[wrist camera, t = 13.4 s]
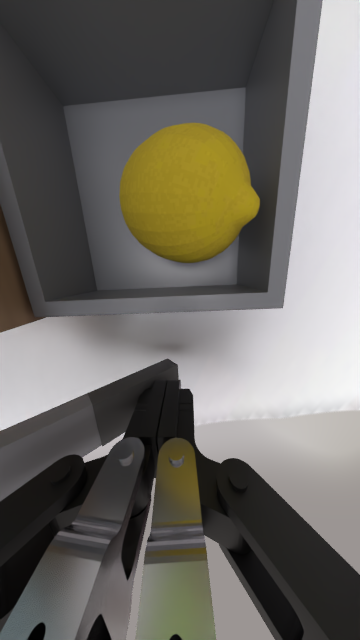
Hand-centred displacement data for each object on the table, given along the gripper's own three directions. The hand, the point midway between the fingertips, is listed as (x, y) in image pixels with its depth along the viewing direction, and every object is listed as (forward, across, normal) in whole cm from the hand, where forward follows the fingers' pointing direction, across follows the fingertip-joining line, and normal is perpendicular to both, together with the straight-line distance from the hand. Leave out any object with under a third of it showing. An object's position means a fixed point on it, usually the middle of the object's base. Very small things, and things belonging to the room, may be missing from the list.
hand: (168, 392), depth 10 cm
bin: (+6, 0, -12) cm, 13 cm away
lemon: (-1, -4, -9) cm, 10 cm away
